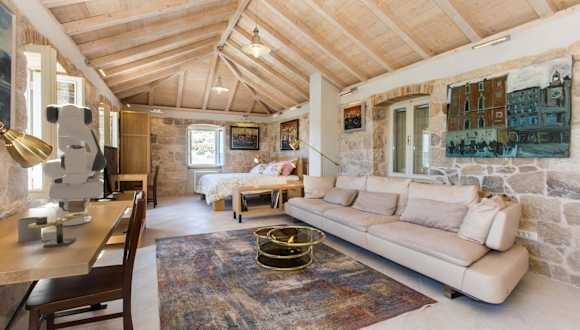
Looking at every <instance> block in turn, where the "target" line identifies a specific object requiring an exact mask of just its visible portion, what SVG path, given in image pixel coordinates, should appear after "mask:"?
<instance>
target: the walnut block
mask: <svg viewBox="0 0 580 330" xmlns="http://www.w3.org/2000/svg"><path fill="white" fill-rule="evenodd" d="M85 203H86V201H85V199H84V200H72V201H70V202H68V213H73V212H82V211H84V210H85V208H83V204H85Z"/></svg>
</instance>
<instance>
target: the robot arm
mask: <svg viewBox="0 0 580 330" xmlns="http://www.w3.org/2000/svg"><path fill="white" fill-rule="evenodd" d="M43 114H44V117H45V119H46V122H48V123H50V124H56V125H57V124H58V128H57V142H58V143H57V145H58V149H59V151H60V152H62V153H63V154H61V155H60V156H59V157H60V158H59V159H51V160H50V159H49V160H47V161H45V163H44V164H43V166H42V170H43V173H44V175H45V176H46V177H48V178H50V179H51V183H52V184H51V185H50V187H49V193H48V196H49V199H50V200H58V203H57V204H58V208H57V209H56V210H55V216H54V219H55V220H54V222H56V220H57V219H63V220H64V219H68V218H65V215H67V214H71V213H68V202H70V201H72V200H85V204H83V208H85V210H84V211H82V212H85V213H88V204H89V202H90V201H91V199H100V198H101V197H102V196H103V189H102V187H103V181H102V180H101V179H100V178H89V177H92V176H94V175H95V173H97V172H101V171H103V170H104V169H105V168H106V165H107V160H106V157H105V155H104V153H103V151H102V149H101V146H100V143H99V140H98V139H97V136H96V134H95V132H94V130H93V129H91V128H89V127H88V126H89V125H91V124H92V123H93V122H94V118H95V117H94V113H93V110H92V109H91V108H89V107H86V106H80V105H79V106H78V105H76V104H75V103H65V104H61V105H60V104H58V105H57V104H48V105H47V106H46V107H45V109H44V113H43ZM82 142H84V143H86V144H87V145H88V147H89V149H90V152H87V147H86V146H84V145H83V143H82ZM73 213H81V212H73ZM92 218H93V217H92V216H90V215H88V216H85V217H79V218H77V219H73V220H70V221H66V222H64V223H63V227H64V226H67V227H68V226H75V225H81V224H87V223H90V222H91V221H92ZM55 225H56V224H55ZM55 225H54V226H55Z"/></svg>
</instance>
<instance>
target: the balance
mask: <svg viewBox="0 0 580 330" xmlns="http://www.w3.org/2000/svg"><path fill="white" fill-rule="evenodd" d="M85 216H90V215H89V212H87V213H85V212H81V213H71V214H67V215H65V218H68V219H64V220H63V219H57V220H56V222H55V221H48V216H36V217H37V218H36V223H33V224H30V225H28V228H41V229H43V228H48V227H51V226H52V227H53V226H55V224H56V227H55V229H56V239H52V240H48V242H46V243H44V244H43V246H42V247H43V248H45V249H46V248H55V247H66V246H67V247H68V246H69V245H71V244H72V243H74V242H75V241H76V237H67V238H64V226H63V223H64V222H66V221H70V220H73V219H77V218H79V217H85Z"/></svg>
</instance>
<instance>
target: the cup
mask: <svg viewBox="0 0 580 330" xmlns="http://www.w3.org/2000/svg"><path fill="white" fill-rule="evenodd" d="M37 217H38V216H30V217H23V218H19V219H17V233H18V234H17V236H18V237H17V241H18V242H31V241H35V240H39V239H41V238H42V228H28V225H30V224H33V223H36V218H37Z"/></svg>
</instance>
